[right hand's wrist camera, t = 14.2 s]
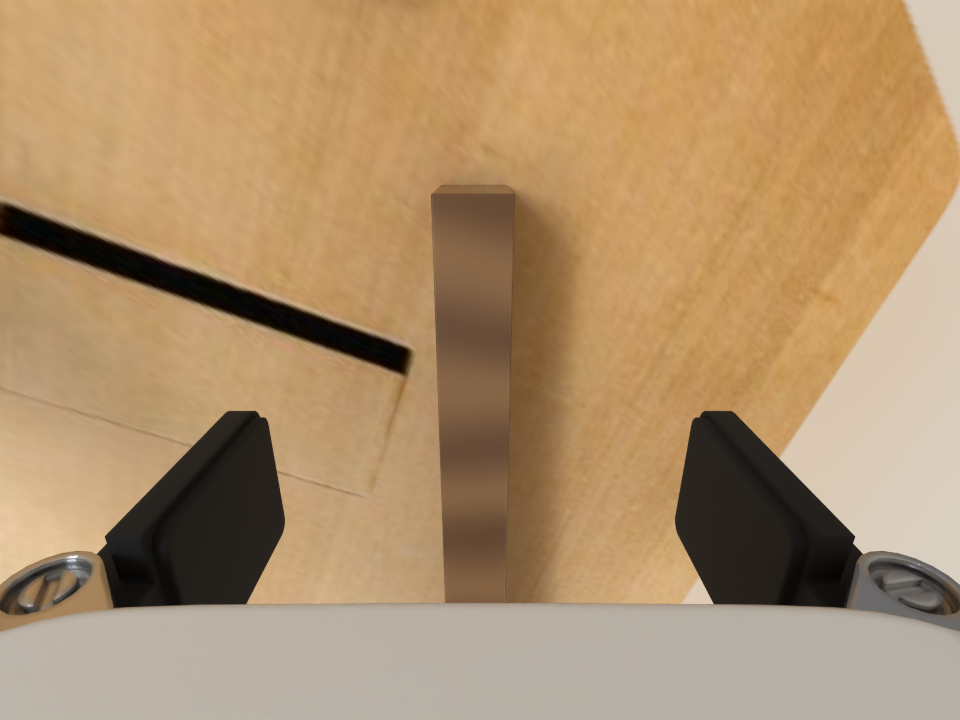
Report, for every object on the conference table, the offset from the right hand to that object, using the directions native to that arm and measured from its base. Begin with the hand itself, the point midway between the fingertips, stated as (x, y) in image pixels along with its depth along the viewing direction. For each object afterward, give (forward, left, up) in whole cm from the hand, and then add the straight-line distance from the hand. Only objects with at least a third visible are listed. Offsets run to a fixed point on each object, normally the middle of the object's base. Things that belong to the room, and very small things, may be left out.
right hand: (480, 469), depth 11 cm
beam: (+29, 0, -29) cm, 41 cm away
